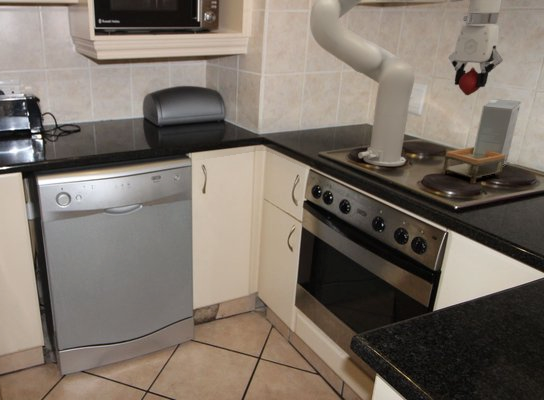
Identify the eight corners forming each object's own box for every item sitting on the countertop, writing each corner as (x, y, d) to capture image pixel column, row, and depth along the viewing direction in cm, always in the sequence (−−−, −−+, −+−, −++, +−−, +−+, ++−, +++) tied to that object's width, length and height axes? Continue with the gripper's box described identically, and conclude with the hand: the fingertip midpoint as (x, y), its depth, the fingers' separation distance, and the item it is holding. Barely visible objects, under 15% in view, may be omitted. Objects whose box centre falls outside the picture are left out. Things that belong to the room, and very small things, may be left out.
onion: (483, 96, 139) (490, 68, 136) (466, 97, 138) (472, 68, 135) (468, 93, 145) (474, 66, 142) (451, 94, 143) (457, 66, 140)
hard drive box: (479, 159, 157) (493, 98, 150) (506, 164, 152) (522, 101, 145) (468, 170, 146) (482, 105, 139) (496, 175, 141) (513, 108, 134)
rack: (473, 184, 135) (478, 160, 133) (442, 174, 144) (446, 151, 141) (500, 178, 140) (505, 154, 137) (468, 169, 148) (473, 147, 146)
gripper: (444, 20, 139) (434, 83, 146) (505, 20, 125) (490, 90, 131) (461, 20, 143) (450, 81, 149) (521, 19, 128) (507, 87, 135)
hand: (469, 85), depth 140 cm, fingers closed on onion, 5 cm apart
